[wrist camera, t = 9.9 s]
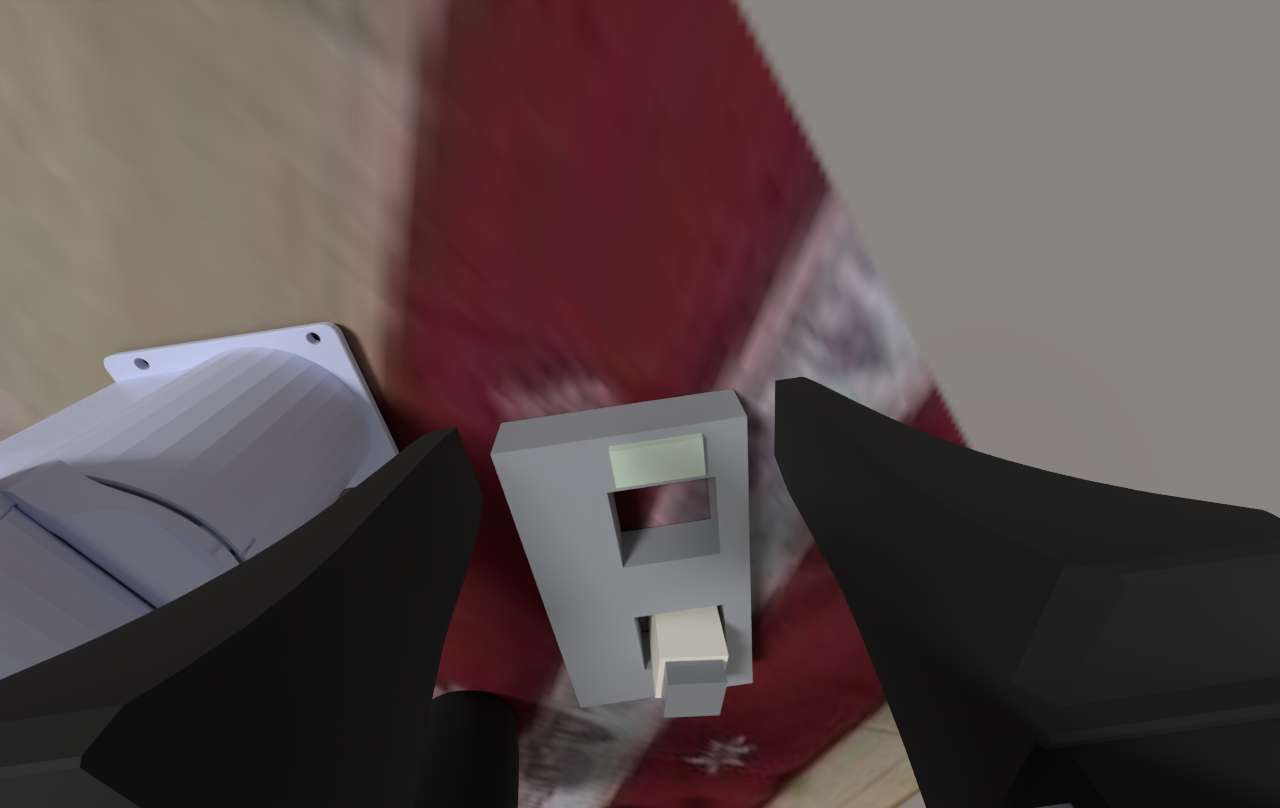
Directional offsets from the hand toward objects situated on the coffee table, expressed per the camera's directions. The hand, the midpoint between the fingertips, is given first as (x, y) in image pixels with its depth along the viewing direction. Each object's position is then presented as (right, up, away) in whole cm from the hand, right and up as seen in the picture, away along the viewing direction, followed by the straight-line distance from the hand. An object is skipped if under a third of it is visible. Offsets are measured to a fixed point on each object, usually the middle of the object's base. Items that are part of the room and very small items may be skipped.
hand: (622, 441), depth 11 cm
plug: (+3, -11, +19) cm, 22 cm away
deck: (+1, -8, +17) cm, 18 cm away
